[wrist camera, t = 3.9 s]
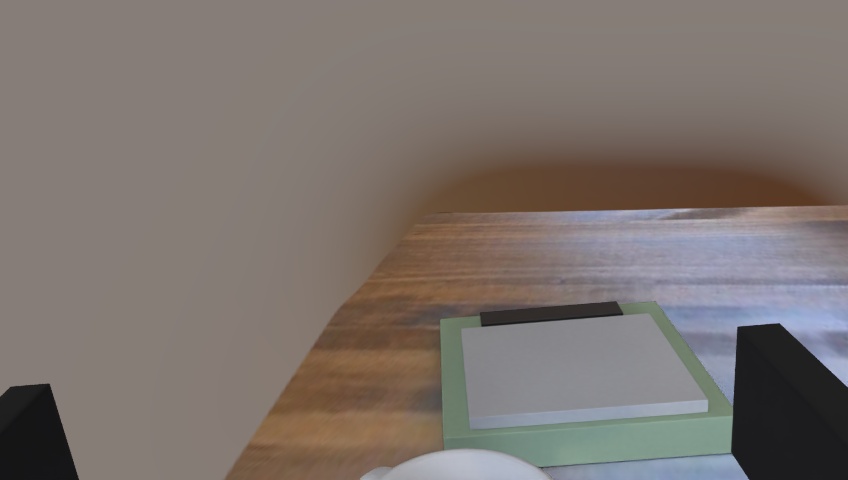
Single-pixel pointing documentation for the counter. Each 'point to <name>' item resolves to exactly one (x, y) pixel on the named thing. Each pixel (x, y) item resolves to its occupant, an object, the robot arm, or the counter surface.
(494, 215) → the counter surface
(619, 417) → the scale
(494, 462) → the cup
